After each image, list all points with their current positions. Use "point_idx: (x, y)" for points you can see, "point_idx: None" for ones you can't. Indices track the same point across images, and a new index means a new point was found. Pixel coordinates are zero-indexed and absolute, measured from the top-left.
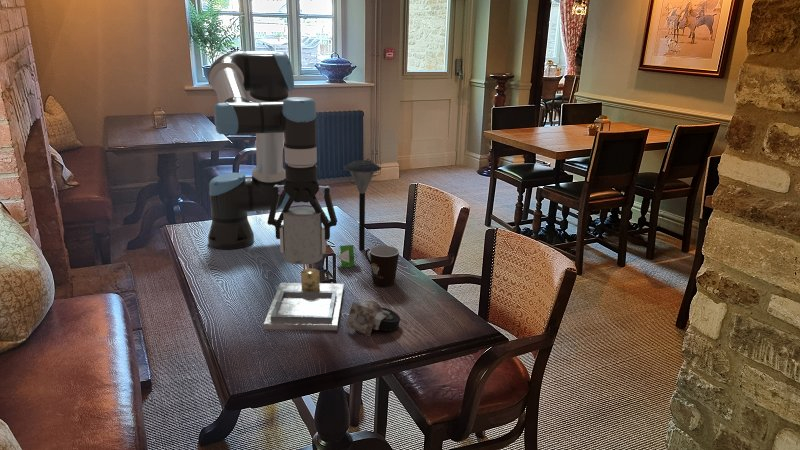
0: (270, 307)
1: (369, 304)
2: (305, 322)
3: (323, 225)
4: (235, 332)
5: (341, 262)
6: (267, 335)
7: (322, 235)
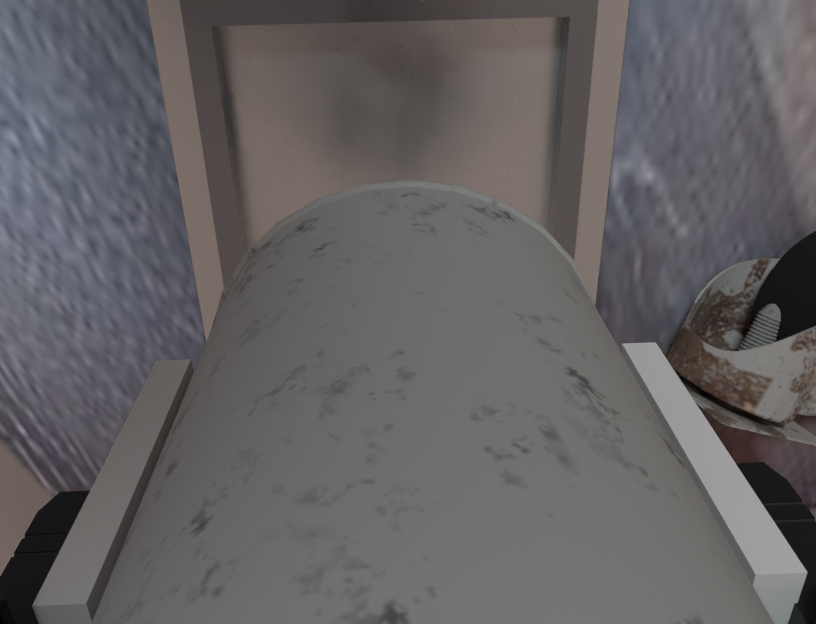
0: (182, 198)
1: (812, 371)
2: None
3: (770, 581)
4: (91, 389)
5: None
6: None
7: None
